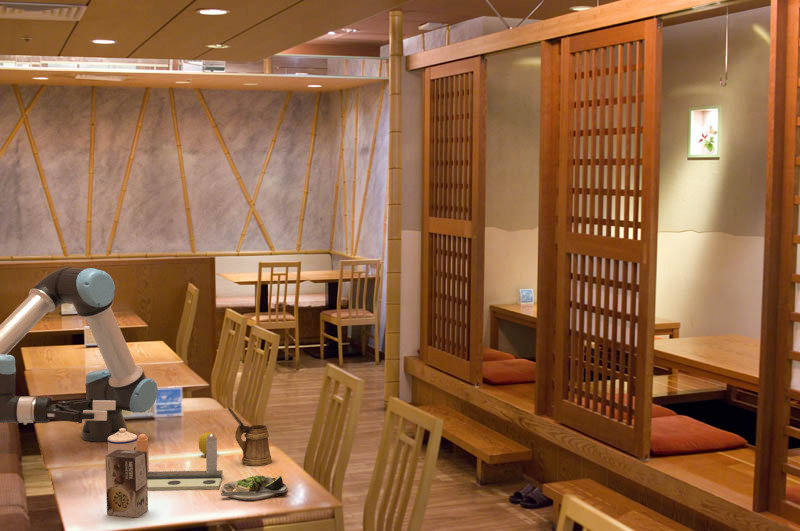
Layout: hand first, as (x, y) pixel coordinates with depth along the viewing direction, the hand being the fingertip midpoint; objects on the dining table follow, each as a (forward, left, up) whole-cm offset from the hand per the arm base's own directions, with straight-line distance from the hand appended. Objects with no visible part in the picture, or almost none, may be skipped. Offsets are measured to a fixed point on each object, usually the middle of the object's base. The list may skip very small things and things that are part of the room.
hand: (111, 410), depth 280 cm
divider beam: (+1, +19, -21) cm, 28 cm away
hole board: (+7, +20, -21) cm, 29 cm away
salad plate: (+13, +43, -21) cm, 50 cm away
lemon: (-23, +25, -21) cm, 40 cm away
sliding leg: (+1, +9, -19) cm, 21 cm away
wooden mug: (-15, +39, -21) cm, 47 cm away
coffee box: (+29, +10, -21) cm, 37 cm away
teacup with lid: (-15, 0, -21) cm, 26 cm away
